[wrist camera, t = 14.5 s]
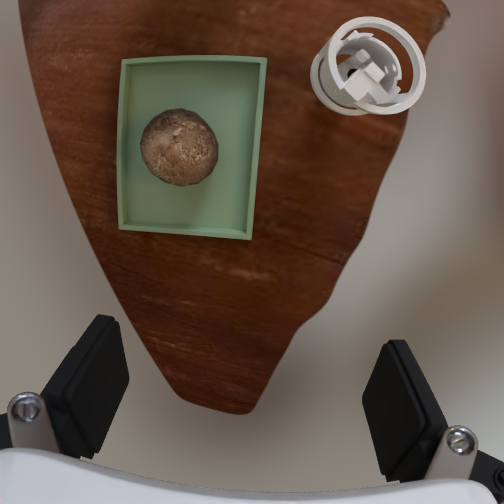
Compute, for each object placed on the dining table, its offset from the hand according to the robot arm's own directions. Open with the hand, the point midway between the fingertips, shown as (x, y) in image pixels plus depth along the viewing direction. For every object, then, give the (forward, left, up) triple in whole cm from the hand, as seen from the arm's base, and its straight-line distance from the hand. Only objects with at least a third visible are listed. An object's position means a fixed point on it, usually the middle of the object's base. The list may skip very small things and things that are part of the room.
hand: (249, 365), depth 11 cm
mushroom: (-5, -8, -26) cm, 28 cm away
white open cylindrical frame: (-13, +7, -26) cm, 30 cm away
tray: (-5, -8, -26) cm, 28 cm away
